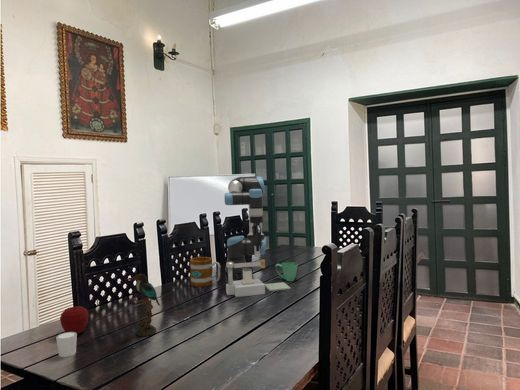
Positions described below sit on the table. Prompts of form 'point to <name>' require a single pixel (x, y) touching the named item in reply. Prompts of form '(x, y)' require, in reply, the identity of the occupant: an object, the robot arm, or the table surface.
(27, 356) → the table surface
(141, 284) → the sculpture
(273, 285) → the mat
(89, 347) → the table surface
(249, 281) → the plug
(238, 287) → the socket
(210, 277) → the mug
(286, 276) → the mug
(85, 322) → the apple
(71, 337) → the shot glass
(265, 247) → the robot arm
